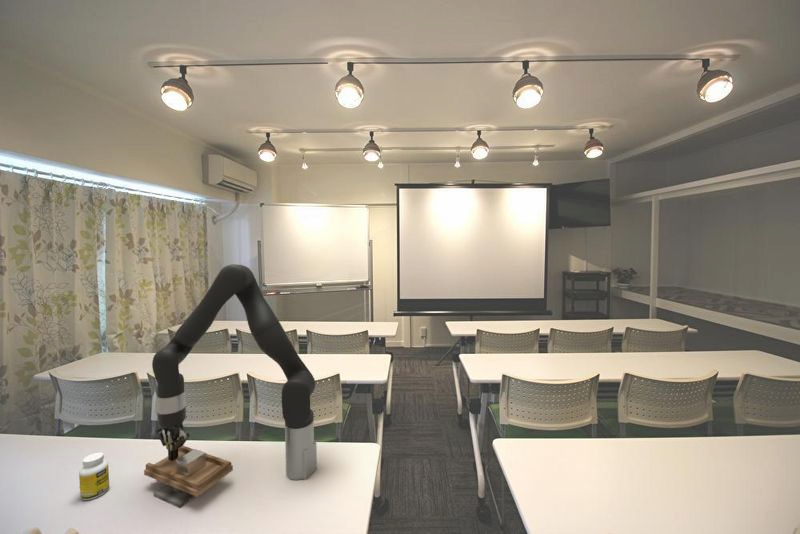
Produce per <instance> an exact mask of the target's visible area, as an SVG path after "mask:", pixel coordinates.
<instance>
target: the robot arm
mask: <svg viewBox="0 0 800 534" xmlns="http://www.w3.org/2000/svg"><path fill="white" fill-rule="evenodd" d="M233 296H236V298H237V299H238V301H239V303H240V304H241V306H242V307H243V309H244V313H245V317H246V321H247V324H248V325H247V326H248V327H249V331H250V334H251V336H252V337H253V339H254V341H255V343H256V344H257V346H258V347H259V349H260V350H261V351H262V352H263V354H265V355H267V357H268V358H270V359H271V360H273V361H274V362H275V363H276V364H277V365H278V366H279V367H280V369H281V370H282V372H283V373H284V375H285V378H286V380H287V381H286V382H285V383H284V384H283V386H282V389H281V408H282V411H281V412H282V417H283V419H284V438H285V439H284V441H285V443H284V444H285V448H284V449H285V476H286V477H287V478H288V479H290V480H296V481H298V480H307V479H308V478H309V477H310V476H311V475H312V473H314V472H315V471H316V470H317V468H318V462H317V461H318V457H317V455H318V454H317V447H318V446H317V441H315V431H314V428H315V427H314V426H315V425H314V424H315V423H314V420H315V419H314V416H315V415H314V411H313V410H312V409H311V396H312V394H313V393H314V391H315V389H316V380H315V377H314V375H313V374H312V372H311V371H310V370H309V368H308V367H307V366H306V364H305V363H304V361H303V360H302V358H301V357H300V356H299V355H298V354H299V353H297V351H296V349H295V347H294V345H293V344H292V342H291V340H290V339H289V337H288V335H287V333H286V330H285V329H284V328H283V327H284V326H282V324H281V322H280V321H279V320H280V319H278V318H277V316H276V314H275V313H274V311H273V309H272V308H271V306H270V304H269V303H268V302H267V300H266V298H265V297H264V294H263V293H262V291H261V289H260V286H259V284H258V282H257V280H256V277H255V274H254V272H253V271H252V270H251V269H250V268H249V267H248V266H246V265H243V264H236V263H235V264H232V263H231V264H228V265H225V266H224V267H222V268H221V269H220V271H219V272H218V274H217V275H216V277H215V278H214V280H213V282H212V284H211V285H210V287H209V289H208V290H207V291H206V294H205V295H204V296H203V298H202V299H201V300H200V302H199V303H198V305H197V306H196V307H195V309H193V311H192V312H191V313H190V314H189V315H188V317H187V318H186V319H185V320H184V321H183V323H181V325H180V326H179V327H178V329H177V330H176V331H175V333H174V337H172V339H171V340H170V341H169V342H168V343H167V344H166V345H165V346H164V347H163V348H161V349H160V350H158V351H156V353H155V354H154V356H153V358H152V362H151V363H152V364H151V367H152V372H153V374H154V379H155V381H156V385H157V386H156V388H157V389H156V390H157V391H156V393H157V400H156V416H157V417H156V418H157V419H156V420H157V426H158V428H157V429H156V430H155V432H156V434H157V436H158V439H159V440H160V442H161V444H162V447H165V449H166V450H167V457H168V460H170V461H174V460H175V459H177V458H178V448H180V447H182V446H185V443H186V442H187V441H188V439H189V437H190V434H189V432H187V433H185V432H184V430H185V429H184V428H185V427H184V424H183V423H184V421H185V420H186V418H187V405H186V404H187V403H186V402H187V401H186V400H187V399H186V392H185V378H184V374H182V373H180V370H179V366H180V364H181V363H182V362H184V360H185V359H186V358H187V356H188V355H189V354H190V352H191V351H192V349H193V348H194V346H195V345H196V344H197V343H198V342H199V340H201V339H202V337H203V336H204V335H205V334H206V333H207V331H208V330H209V329H210V327H211V326H212V325H213V323H214V322H215V319H216V318H217V316H218V314H219V312H220V311H221V309H222V308H223V306H224V305H225V304H226V303H227V302H228V301H229V300H230V299H231V298H233Z"/></svg>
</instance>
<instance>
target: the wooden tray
mask: <svg viewBox="0 0 800 534" xmlns="http://www.w3.org/2000/svg"><path fill="white" fill-rule="evenodd" d="M194 449H195V448H191V447H190V446H189V447H188V446H186V445H183V446H182V447H180V448H178V458H177V459H179V458H181V457H182V456H184V455H186V454H187V453H189V452H191V451H192V450H194ZM177 459H175V460H174V461H170V460H168V456H166V457H164V458H163V459H161V460H159V461H157V462H156V463H151V462H147V463H146V464H145V469H144V470H143V474H144V476H146V477H149V478H152V479H154V480H156V481H158V482H160V483H162V484H165V485H163V487H160V488H159V489H157V490H156V491H155V492H153V497H155V498H157V499H160V500H162V501H163V502H165V503H168V504H170V505H173V506H174V507H177V508H179V509H181V508H183V507H184V506H185V505H186V504H188V503H189V502H190V501H192V500H193V499H195V498H196V497H197V498H198V497H199V496H201V495H202V494H203V493H204V492H206V491H207V490H209V489H210V488H211V487H212V486H214V485H215V484H216V483H218V482H219V481H221V480H222V479H223V478H224V477H226V476H227V475H228V474H230V473H231V472H232V471H234V466H233V465H232V461H230V460H227V459H224V458H220V457H218V456H214V455H212V454H209V453H206V465H205V466H203V467H202V468H200V469H199V470H197V471H196V472H194V473H193V474H191V475H190V476H188V477H187V476H185V475H182V474H180V473H177V464H176V460H177Z"/></svg>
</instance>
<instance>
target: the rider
mask: <svg viewBox="0 0 800 534" xmlns="http://www.w3.org/2000/svg"><path fill="white" fill-rule="evenodd" d="M193 449H194V450H192V451H191V452H189V453H187V454H186V455H184V456H182V457H181V458H179V459H177V460H176V464H177V473H180V474H182V475H185V476H187V477H188V476H190V475H191V474H193V473H194V472H196V471H197V470H199V469H200V468H202V467H203V466H205V465H206V454H207V452H205V451H202V450H201V449H200V450H199V449H197V448H193Z"/></svg>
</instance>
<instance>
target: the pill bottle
mask: <svg viewBox="0 0 800 534" xmlns="http://www.w3.org/2000/svg"><path fill="white" fill-rule="evenodd" d="M82 465H83V466H82V467H81V468H80V470H79V471H78V473H79V476H78V477H79V493H80V496H79V497H80V499H81V500H82V501H91V500H93V499H97V498H99V497H101V496H102V495H104V494H105V493H106V492H107V491H108V490H109V488H110V476H109V475H110V474H109V461H108V460H107V459H105V455H104V452H95V453H91V454H89V455H86V456H85V457H84V458H83V459H82Z"/></svg>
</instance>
